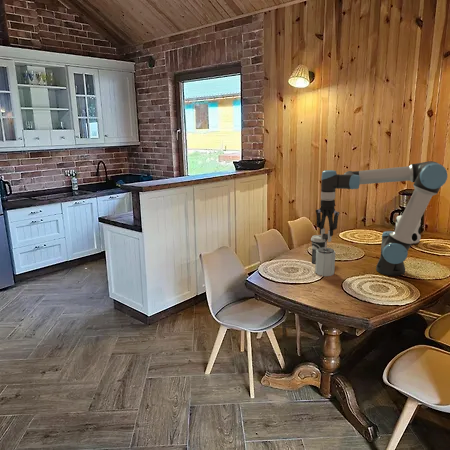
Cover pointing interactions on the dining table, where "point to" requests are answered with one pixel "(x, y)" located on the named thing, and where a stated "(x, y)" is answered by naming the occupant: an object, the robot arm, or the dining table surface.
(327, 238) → the plunger
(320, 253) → the carafe
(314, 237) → the coffee cup
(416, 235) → the milk container
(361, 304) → the dining table surface
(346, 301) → the dining table surface
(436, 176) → the robot arm
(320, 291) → the dining table surface
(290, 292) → the dining table surface
